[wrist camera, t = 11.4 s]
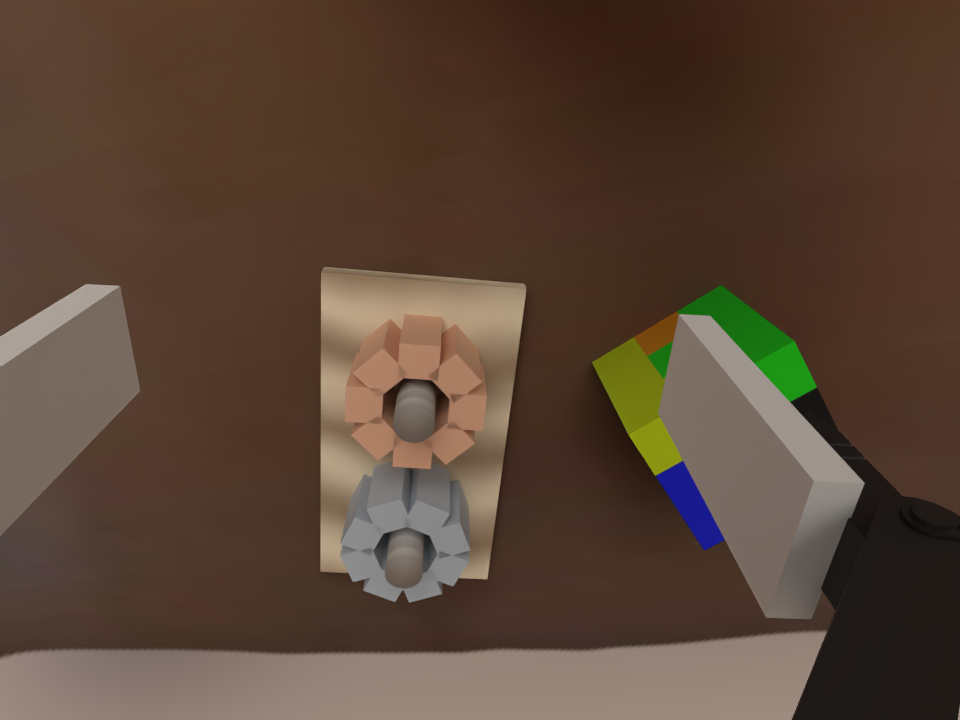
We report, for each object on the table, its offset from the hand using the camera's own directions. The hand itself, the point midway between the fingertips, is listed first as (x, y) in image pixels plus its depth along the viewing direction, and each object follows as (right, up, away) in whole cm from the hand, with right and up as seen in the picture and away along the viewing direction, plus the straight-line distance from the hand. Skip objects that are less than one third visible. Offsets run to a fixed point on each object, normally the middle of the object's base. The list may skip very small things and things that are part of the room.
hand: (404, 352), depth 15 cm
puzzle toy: (+17, -1, +31) cm, 35 cm away
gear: (-3, -11, +32) cm, 34 cm away
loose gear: (-2, -1, +28) cm, 28 cm away
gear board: (-3, -6, +31) cm, 32 cm away
